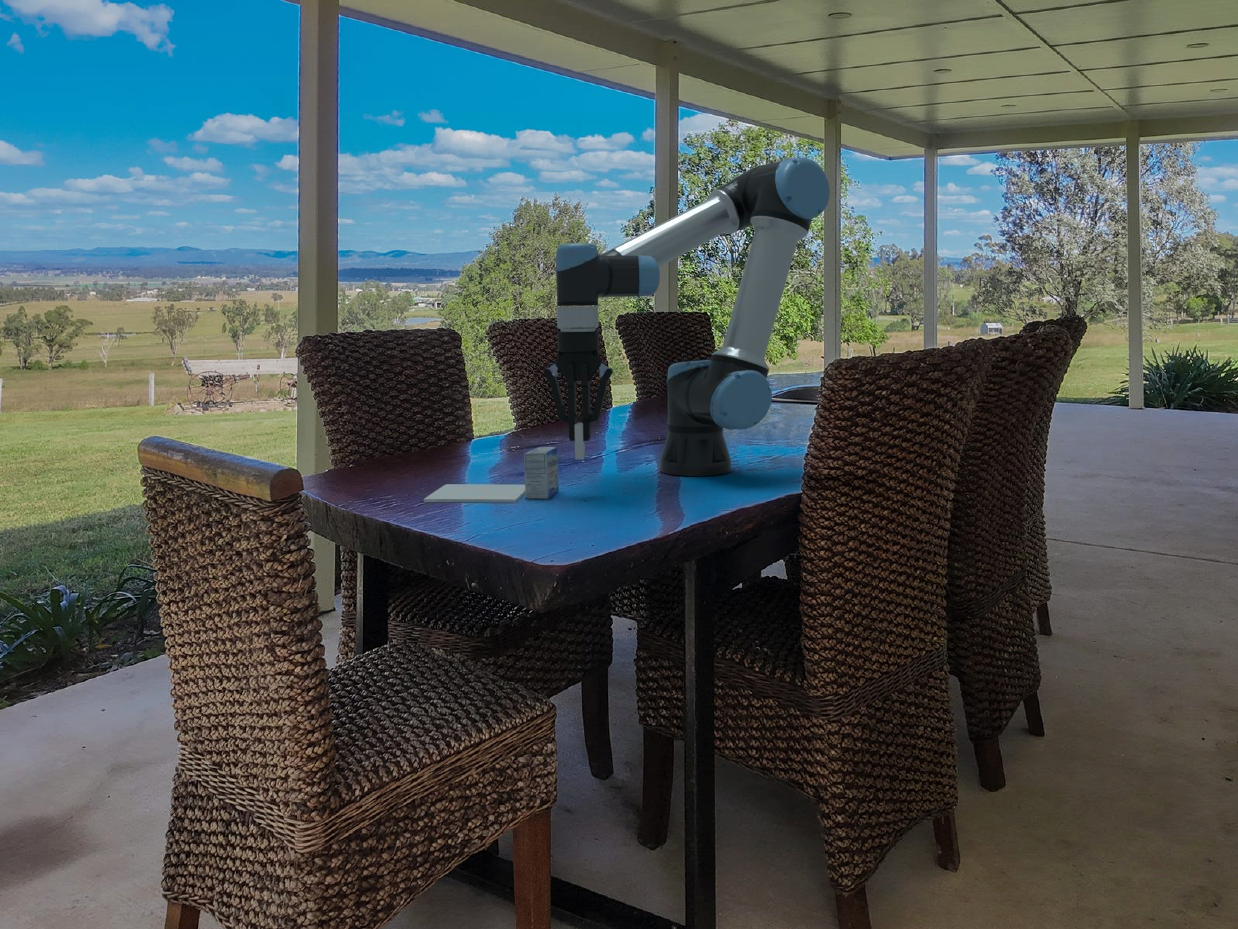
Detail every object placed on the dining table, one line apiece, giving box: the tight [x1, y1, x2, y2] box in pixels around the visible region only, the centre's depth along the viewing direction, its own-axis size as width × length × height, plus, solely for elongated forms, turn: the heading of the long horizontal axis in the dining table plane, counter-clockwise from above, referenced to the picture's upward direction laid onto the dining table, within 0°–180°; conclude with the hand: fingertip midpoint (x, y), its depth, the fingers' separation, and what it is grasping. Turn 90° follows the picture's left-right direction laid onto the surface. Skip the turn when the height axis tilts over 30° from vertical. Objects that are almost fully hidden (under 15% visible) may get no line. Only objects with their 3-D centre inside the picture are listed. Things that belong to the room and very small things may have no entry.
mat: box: [423, 483, 526, 504], centre depth 192 cm, size 17×15×1 cm
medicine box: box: [523, 446, 560, 500], centre depth 190 cm, size 8×4×9 cm, turn 168°
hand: (580, 458), depth 189 cm, fingers closed
